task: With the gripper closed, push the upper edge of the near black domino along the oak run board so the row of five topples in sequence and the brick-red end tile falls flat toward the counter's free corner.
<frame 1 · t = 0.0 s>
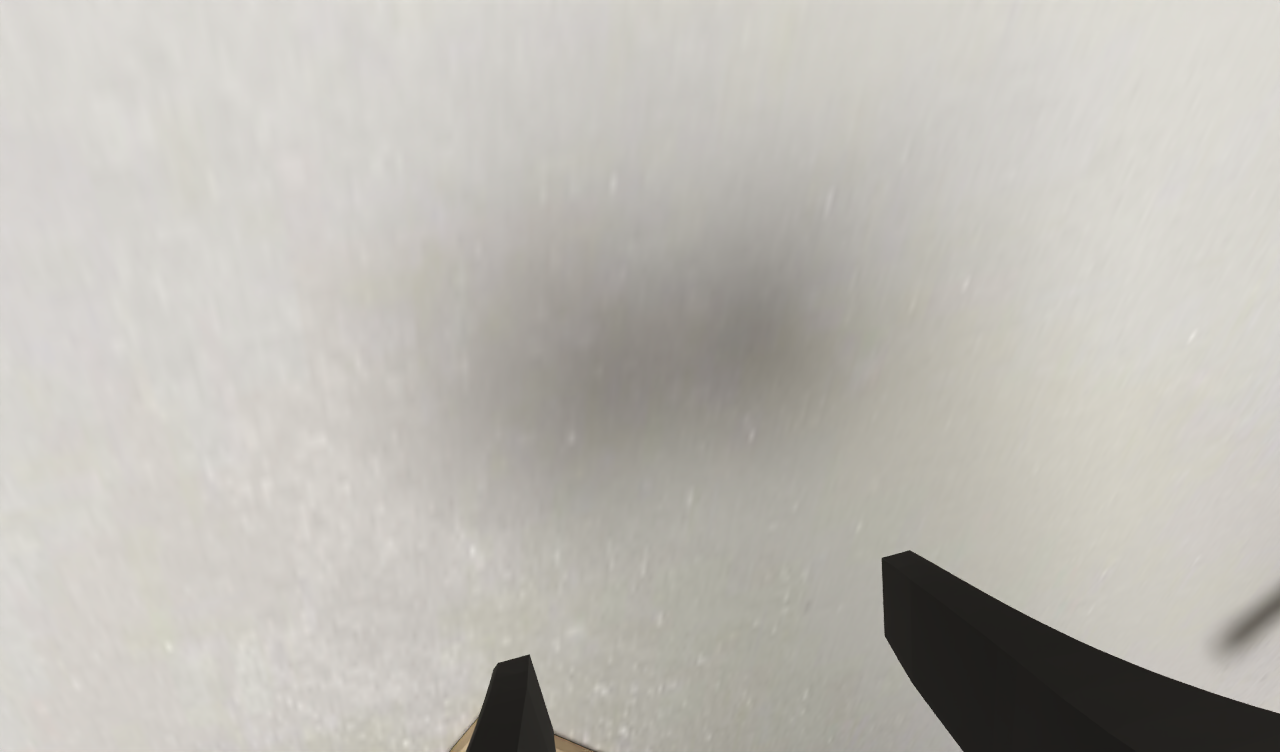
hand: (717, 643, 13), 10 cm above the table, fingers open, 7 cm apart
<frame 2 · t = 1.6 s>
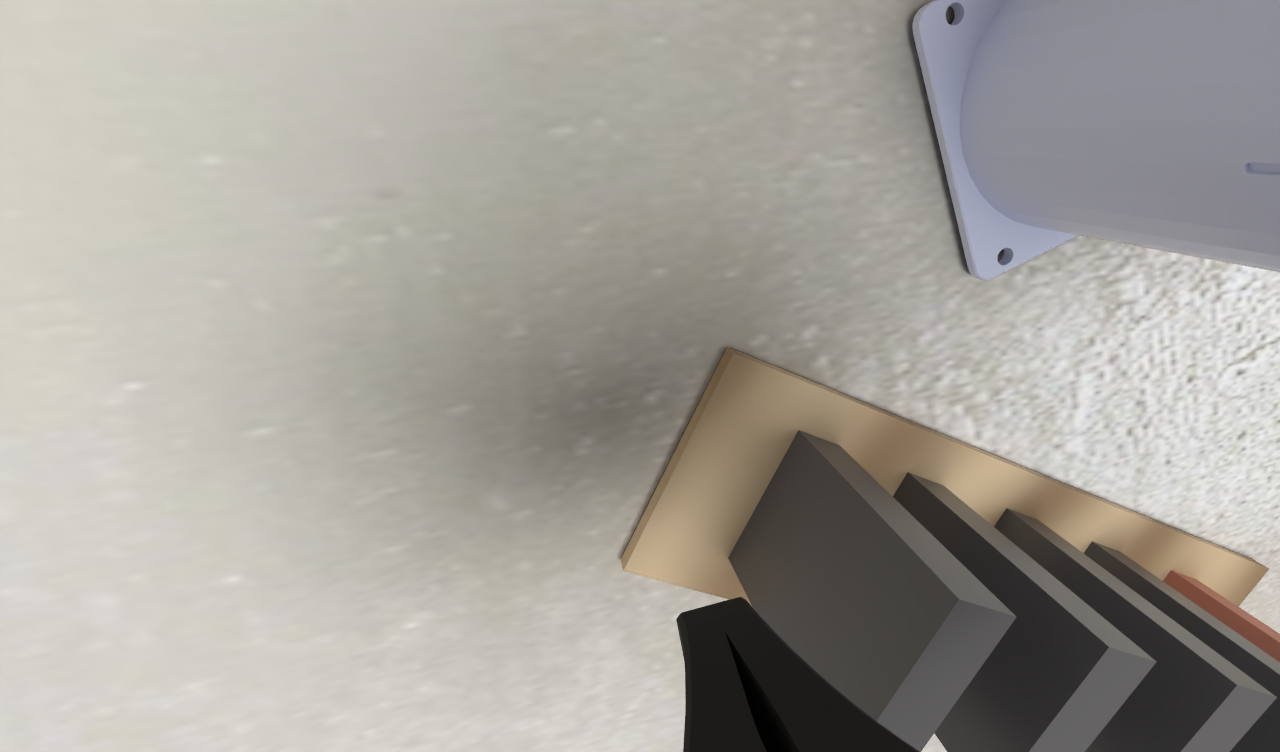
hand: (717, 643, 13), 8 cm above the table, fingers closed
domino 4: (1068, 598, 25), point 1 cm above the table, touching run board
run board: (974, 559, 24), on the table
domino 3: (984, 569, 24), point 1 cm above the table, touching run board
domino 2: (888, 538, 23), point 1 cm above the table, touching run board
domino 1: (782, 502, 21), point 1 cm above the table, touching run board
domino 5: (1146, 623, 27), point 1 cm above the table, touching run board
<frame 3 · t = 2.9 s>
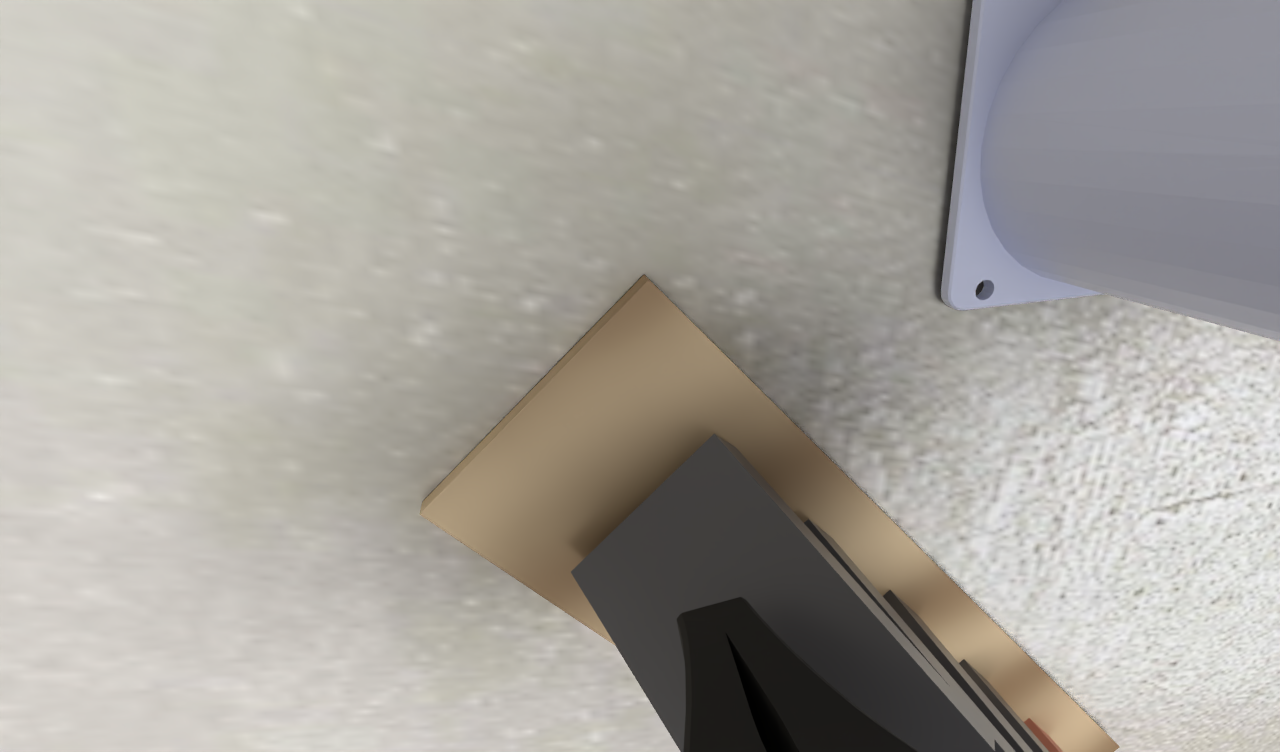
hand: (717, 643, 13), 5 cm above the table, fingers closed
domino 4: (919, 717, 22), point 1 cm above the table, touching run board
run board: (835, 641, 21), on the table
domino 3: (844, 655, 20), point 1 cm above the table, touching run board
domino 2: (755, 588, 18), point 1 cm above the table, tilted 17°, touching run board
domino 1: (655, 508, 16), point 1 cm above the table, tilted 36°, touching run board
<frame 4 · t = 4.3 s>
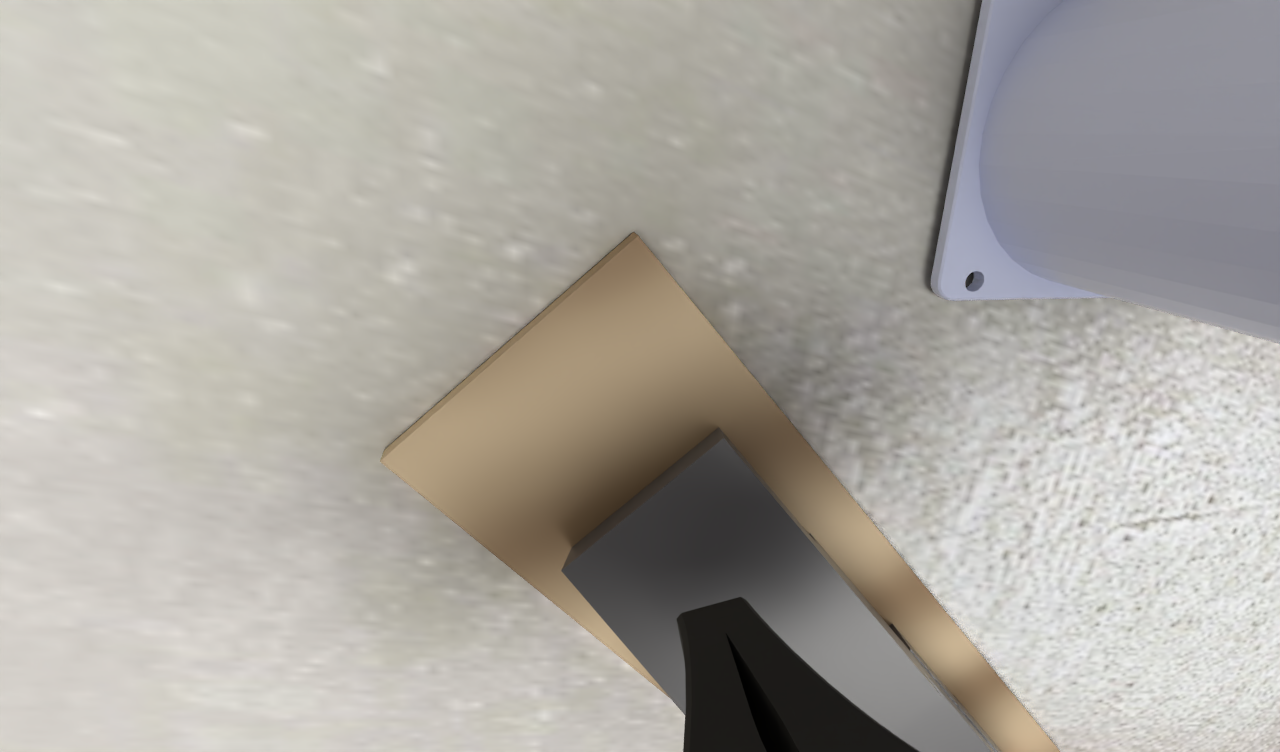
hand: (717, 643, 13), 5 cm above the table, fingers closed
run board: (797, 634, 20), on the table
domino 3: (835, 686, 19), point 1 cm above the table, tilted 69°, touching domino 2, domino 4, run board
domino 2: (744, 599, 18), point 1 cm above the table, tilted 70°, touching domino 1, domino 3, run board
domino 1: (642, 496, 16), point 1 cm above the table, tilted 69°, touching domino 2, run board
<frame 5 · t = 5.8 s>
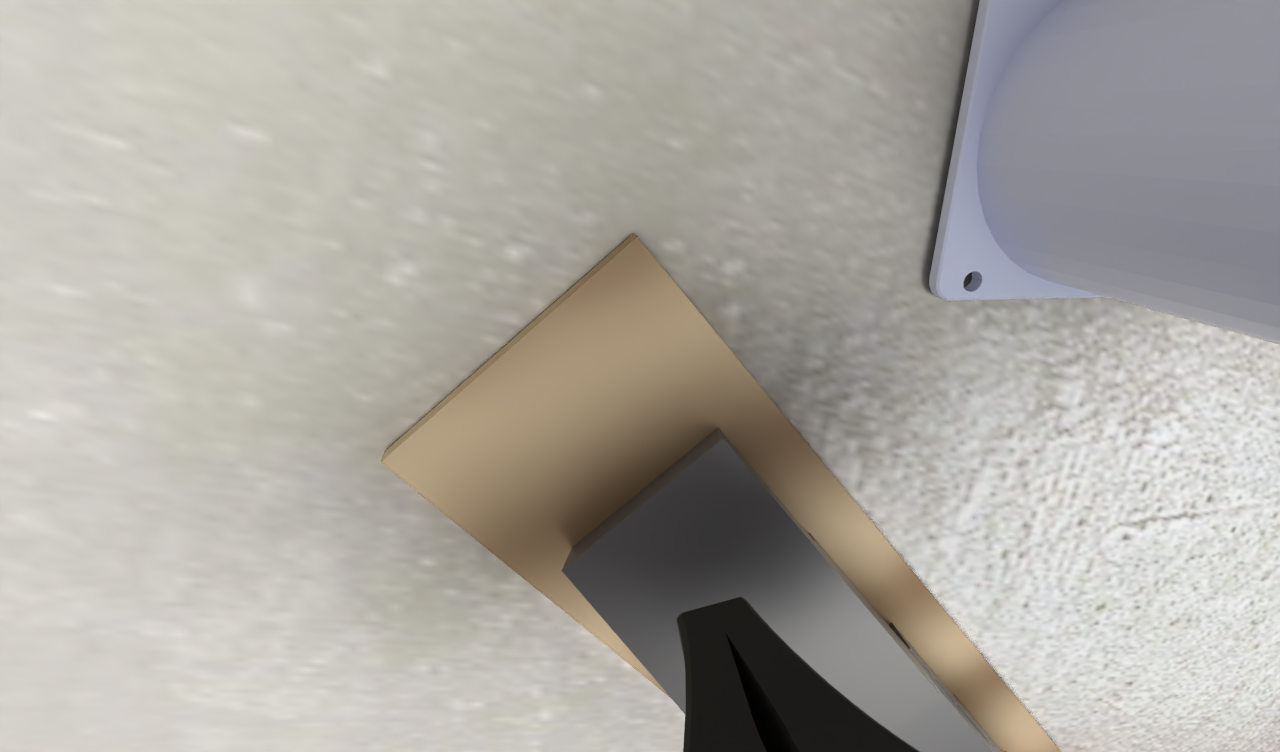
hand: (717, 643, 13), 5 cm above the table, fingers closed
run board: (797, 633, 20), on the table
domino 3: (834, 685, 20), point 1 cm above the table, tilted 69°, touching domino 2, domino 4, run board
domino 2: (744, 598, 18), point 1 cm above the table, tilted 70°, touching domino 1, domino 3, run board
domino 1: (642, 496, 16), point 1 cm above the table, tilted 69°, touching domino 2, run board
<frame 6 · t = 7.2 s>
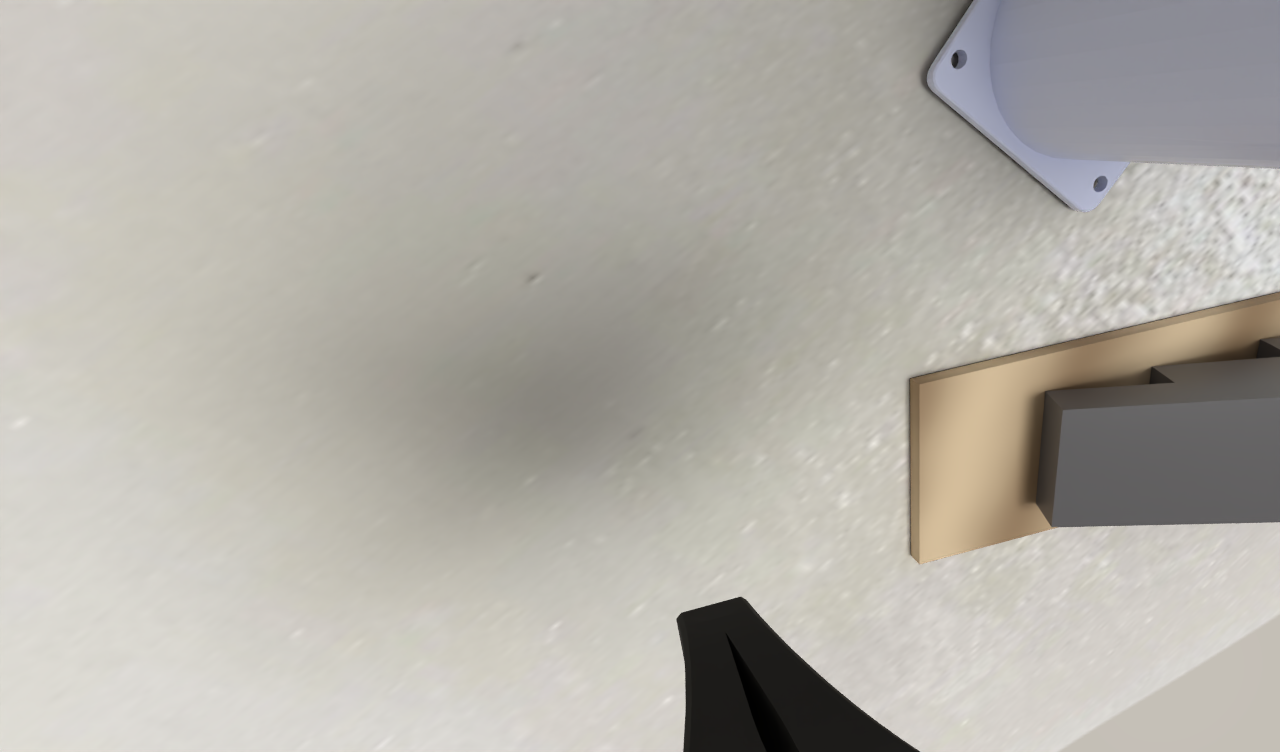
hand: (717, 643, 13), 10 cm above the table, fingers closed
run board: (1202, 398, 27), on the table
domino 3: (1261, 405, 25), point 1 cm above the table, tilted 69°, touching domino 2, domino 4, run board
domino 2: (1154, 433, 25), point 1 cm above the table, tilted 70°, touching domino 1, domino 3, run board
domino 1: (1048, 459, 24), point 1 cm above the table, tilted 69°, touching domino 2, run board
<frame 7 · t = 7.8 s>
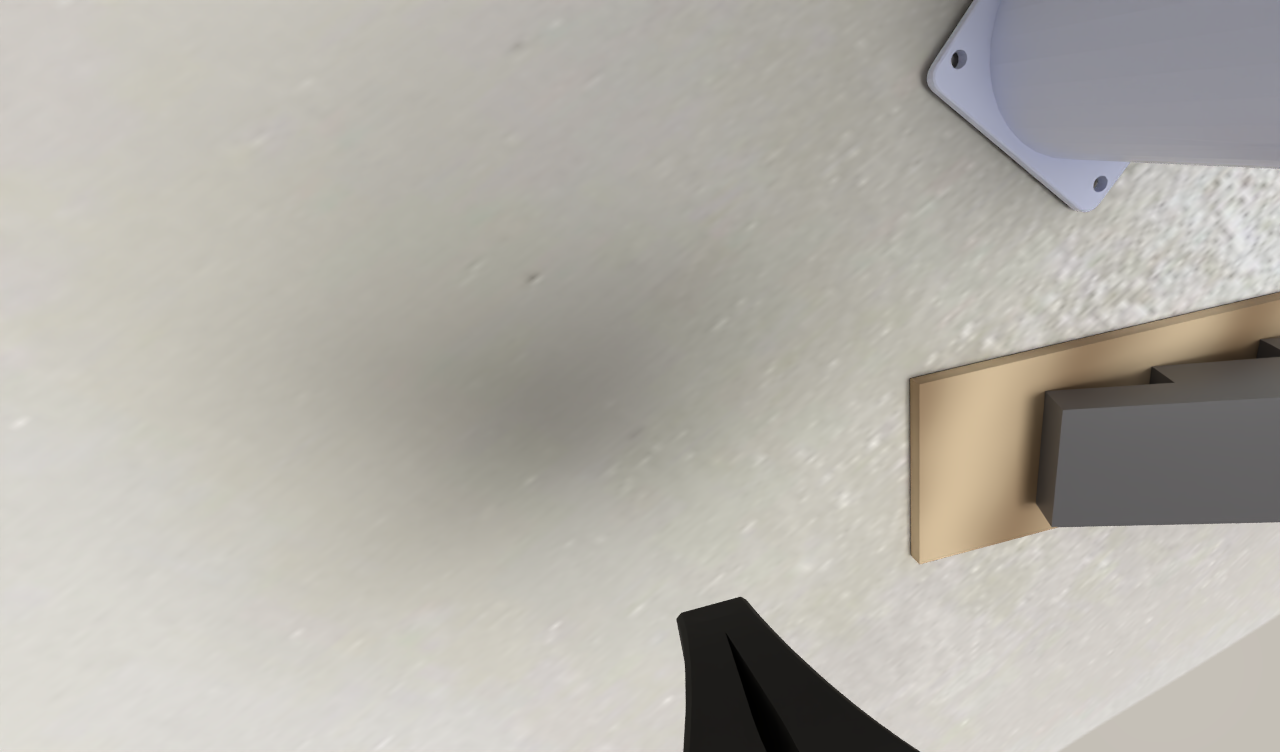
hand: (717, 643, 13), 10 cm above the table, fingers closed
run board: (1202, 398, 27), on the table
domino 3: (1261, 405, 25), point 1 cm above the table, tilted 69°, touching domino 2, domino 4, run board
domino 2: (1154, 433, 25), point 1 cm above the table, tilted 70°, touching domino 1, domino 3, run board
domino 1: (1048, 459, 24), point 1 cm above the table, tilted 69°, touching domino 2, run board
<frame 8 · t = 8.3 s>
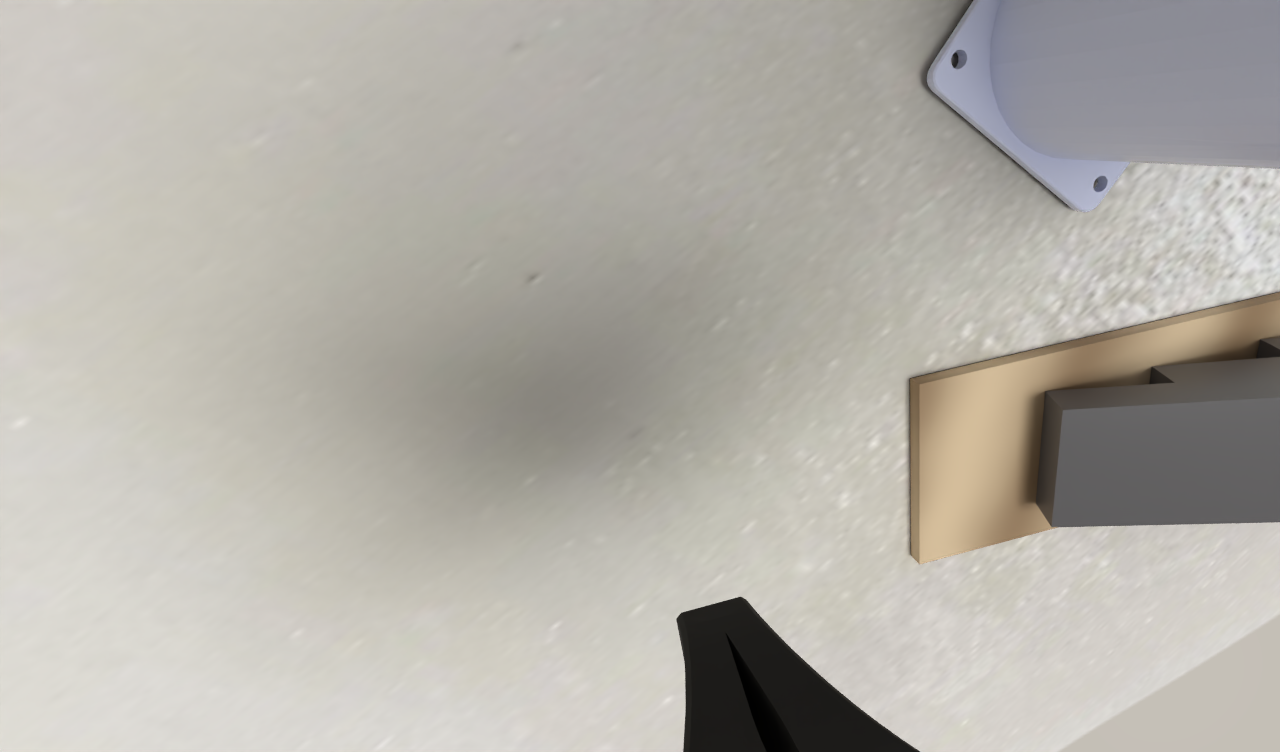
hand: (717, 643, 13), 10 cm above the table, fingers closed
run board: (1202, 398, 27), on the table
domino 3: (1261, 405, 25), point 1 cm above the table, tilted 69°, touching domino 2, domino 4, run board
domino 2: (1154, 433, 25), point 1 cm above the table, tilted 70°, touching domino 1, domino 3, run board
domino 1: (1048, 459, 24), point 1 cm above the table, tilted 69°, touching domino 2, run board
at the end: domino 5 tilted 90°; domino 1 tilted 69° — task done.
